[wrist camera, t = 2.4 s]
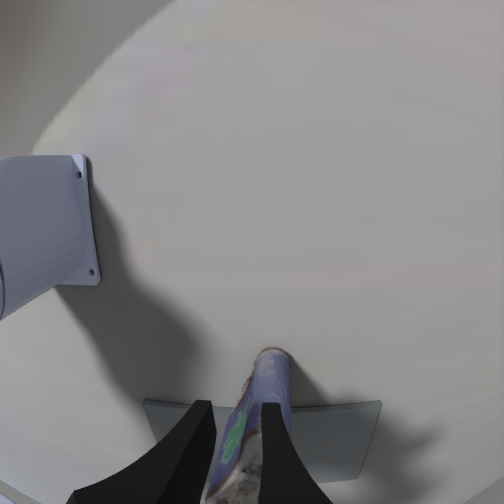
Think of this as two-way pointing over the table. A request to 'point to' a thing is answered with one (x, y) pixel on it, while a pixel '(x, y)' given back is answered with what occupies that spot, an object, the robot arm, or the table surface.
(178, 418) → the mat
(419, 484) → the table surface
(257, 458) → the clover print pouch
